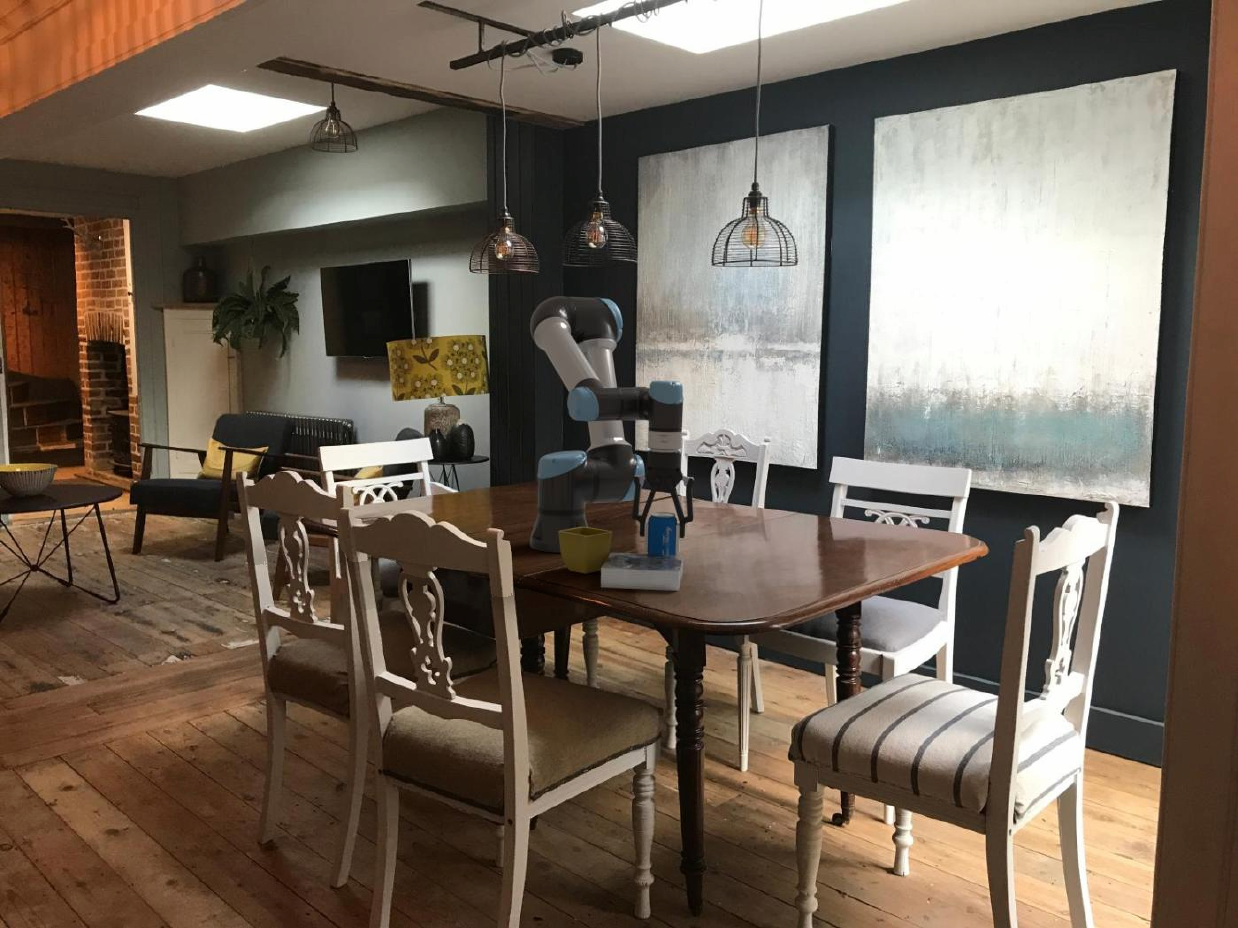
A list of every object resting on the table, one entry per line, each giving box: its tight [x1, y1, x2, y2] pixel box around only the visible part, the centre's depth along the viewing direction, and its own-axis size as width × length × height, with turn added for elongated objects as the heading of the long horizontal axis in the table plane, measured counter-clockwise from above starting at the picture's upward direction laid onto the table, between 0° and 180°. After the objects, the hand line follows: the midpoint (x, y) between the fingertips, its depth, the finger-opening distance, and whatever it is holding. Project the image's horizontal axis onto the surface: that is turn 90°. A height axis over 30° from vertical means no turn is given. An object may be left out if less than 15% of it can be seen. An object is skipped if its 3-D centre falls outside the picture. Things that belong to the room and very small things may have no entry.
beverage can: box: [647, 511, 678, 555], centre depth 225 cm, size 6×6×12 cm
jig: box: [600, 552, 684, 592], centre depth 212 cm, size 16×16×4 cm
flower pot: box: [558, 526, 614, 575], centre depth 220 cm, size 9×9×9 cm
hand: (661, 551), depth 226 cm, fingers closed on beverage can, 6 cm apart
